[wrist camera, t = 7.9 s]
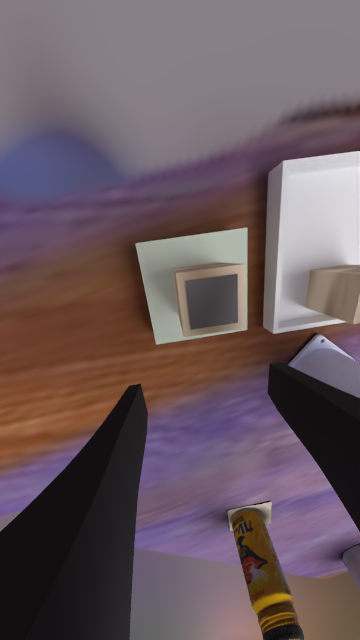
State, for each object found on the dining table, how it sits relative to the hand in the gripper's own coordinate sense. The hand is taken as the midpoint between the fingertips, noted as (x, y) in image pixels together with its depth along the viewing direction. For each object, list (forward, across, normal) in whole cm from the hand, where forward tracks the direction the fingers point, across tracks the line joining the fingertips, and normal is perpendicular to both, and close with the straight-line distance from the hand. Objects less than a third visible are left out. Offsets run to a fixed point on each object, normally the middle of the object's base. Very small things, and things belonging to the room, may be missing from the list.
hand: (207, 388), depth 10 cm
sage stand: (+10, -1, -4) cm, 11 cm away
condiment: (+10, -8, +42) cm, 44 cm away
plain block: (+9, -15, -2) cm, 18 cm away
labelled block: (+7, -1, -4) cm, 9 cm away
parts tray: (+10, -15, -6) cm, 19 cm away
